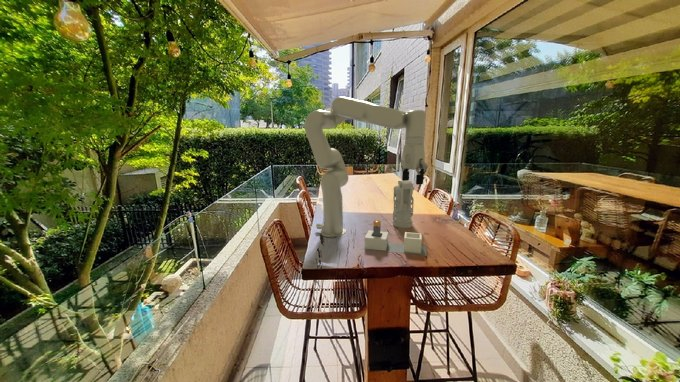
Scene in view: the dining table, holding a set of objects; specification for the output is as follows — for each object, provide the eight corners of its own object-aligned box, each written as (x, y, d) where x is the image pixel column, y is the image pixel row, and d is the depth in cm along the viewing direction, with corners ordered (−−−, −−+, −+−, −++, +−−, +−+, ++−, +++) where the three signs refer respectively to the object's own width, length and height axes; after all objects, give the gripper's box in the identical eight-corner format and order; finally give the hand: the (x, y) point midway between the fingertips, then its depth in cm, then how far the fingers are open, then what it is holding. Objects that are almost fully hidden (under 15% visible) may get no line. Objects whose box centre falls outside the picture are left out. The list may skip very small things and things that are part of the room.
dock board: (361, 251, 113) (362, 235, 111) (366, 242, 122) (366, 227, 120) (426, 258, 105) (427, 241, 104) (425, 247, 115) (426, 232, 113)
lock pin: (372, 246, 115) (372, 222, 112) (373, 243, 117) (374, 220, 115) (379, 247, 114) (380, 222, 111) (380, 244, 117) (381, 220, 114)
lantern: (391, 222, 149) (392, 178, 144) (410, 222, 148) (411, 177, 143) (395, 230, 136) (396, 182, 131) (415, 230, 136) (417, 182, 130)
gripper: (395, 141, 116) (393, 179, 120) (420, 142, 100) (417, 186, 104) (409, 140, 119) (407, 178, 123) (436, 141, 103) (433, 185, 107)
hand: (412, 182), depth 113 cm, fingers open, 9 cm apart
